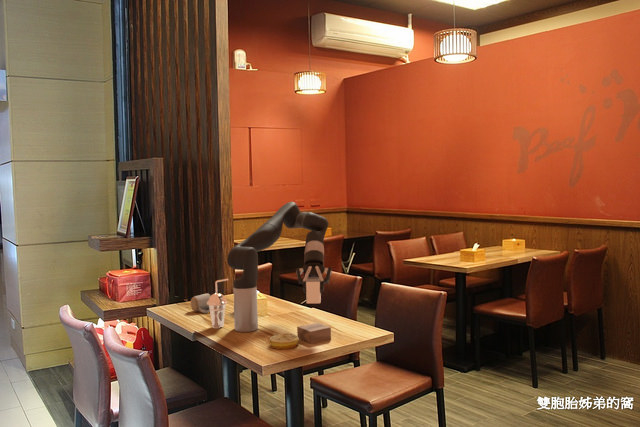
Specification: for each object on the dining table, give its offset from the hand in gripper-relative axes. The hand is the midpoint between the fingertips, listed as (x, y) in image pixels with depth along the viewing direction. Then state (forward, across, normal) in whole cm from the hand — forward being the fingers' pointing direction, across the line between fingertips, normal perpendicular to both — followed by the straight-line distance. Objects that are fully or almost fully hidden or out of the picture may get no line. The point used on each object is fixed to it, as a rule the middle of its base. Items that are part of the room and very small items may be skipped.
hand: (313, 291), depth 213 cm
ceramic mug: (-22, +54, -48) cm, 75 cm away
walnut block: (+12, 0, -14) cm, 18 cm away
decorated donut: (+18, +10, -9) cm, 22 cm away
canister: (+2, 0, -4) cm, 5 cm away
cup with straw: (-1, +40, -28) cm, 49 cm away
